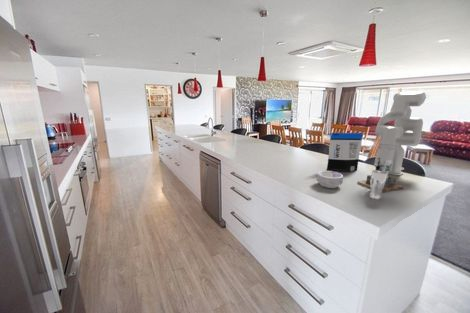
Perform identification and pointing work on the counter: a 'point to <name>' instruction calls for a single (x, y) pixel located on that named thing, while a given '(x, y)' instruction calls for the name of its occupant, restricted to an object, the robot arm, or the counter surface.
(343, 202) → the counter surface
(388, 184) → the holder
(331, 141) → the protein powder
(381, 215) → the counter surface
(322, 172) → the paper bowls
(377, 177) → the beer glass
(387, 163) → the syrup box
